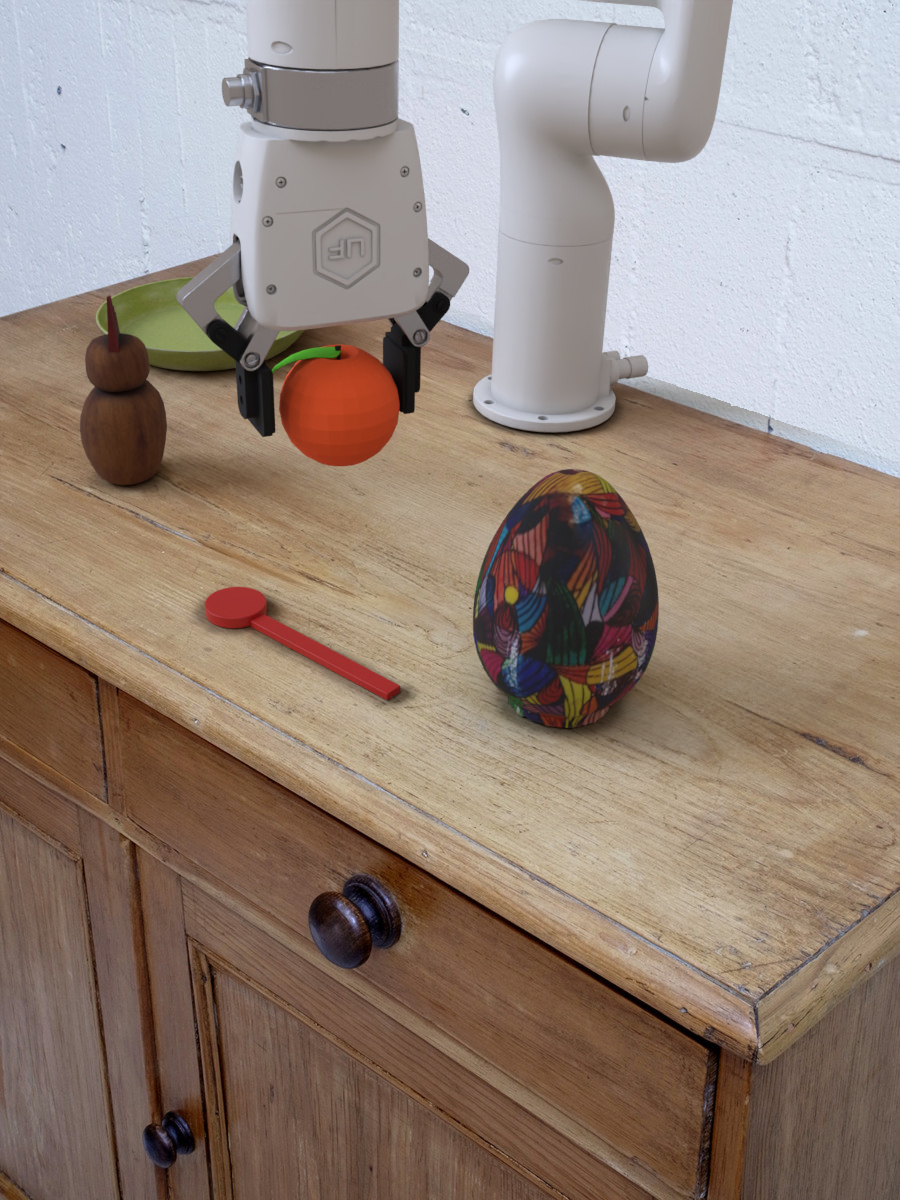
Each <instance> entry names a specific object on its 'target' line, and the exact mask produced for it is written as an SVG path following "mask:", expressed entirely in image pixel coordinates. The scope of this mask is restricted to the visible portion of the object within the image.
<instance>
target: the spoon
mask: <svg viewBox="0 0 900 1200" xmlns="http://www.w3.org/2000/svg"><path fill="white" fill-rule="evenodd" d="M267 613H268V603H267V598H266V596H265V595H264V593H262V592H261V591H259V590H258V589H255V588H252V587H248V586H230V587H225V588H221V589H218V590H216V591H214V592H212V593H211V594H209V595H208V596H207V598H206V600H205V602H204V614H205V617H206V619H207V620H208V621H209V622H210V623H211V624H213V625H215V626H217V627H220V628H223V629H224V628H225V629H243V628H246V627H250V628H251V629H254V630H256V631H257V632H259V633H261V634H263V635H264V636H266V637H268V638H270V639H272V640H274V641H276V642H277V643H280V644H281V645H283V646H285V647H287V648H289V649H291V650H293V651H294V652H296V653H298V654H300V655H301V656H304V657H306V658H307V659H309V660H311V661H313V662H315V663H316V664H319V665H320V666H323V667H324V668H326V669H327V670H330V671H332V672H333V673H335V674H337V675H339V676H340V677H342V678H345V679H347V680H348V681H350V682H352V683H354V684H356V685H358V686H360V687H362V688H363V689H365V690H367V691H369V692H371V693H373V694H375V695H377V696H378V697H380V698H382V699H383V700H386V701H389V700H390V699H392V698H394V697H396V696H397V695H398V694H400V693H401V685H400V684H398V683H396V682H394V681H392V680H391V679H388V678H386V677H385V676H383V675H381V674H379V673H377V672H375V671H373V670H371V669H369V667H368V668H367V667H366V666H365V665H362V664H360V663H358V662H357V661H354V660H352V659H350V658H348V657H346V656H345V655H343V654H341V653H339V652H337V651H336V650H333V649H332V648H330V647H328V646H326V645H324V644H322V643H321V642H319V641H316V640H314V639H313V638H311V637H309V636H307V635H305V634H303V633H301V632H299V631H297V630H296V629H293V628H291V627H290V626H288V625H286V624H284V623H282V622H281V621H278V620H276V619H274V618H273V617H271V616H269V615H267Z"/></svg>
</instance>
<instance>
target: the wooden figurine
mask: <svg viewBox="0 0 900 1200" xmlns="http://www.w3.org/2000/svg"><path fill="white" fill-rule="evenodd" d="M111 297H112V296H111V295H107V296H106V301H107V320H108V334H101V335H99V336H97V337H95V338H92V339H91V341H90V342H89V344H88V345H87V347H86V351H85V355H84V357H85V358H84V363H85V372H86V373H85V374H86V377H87V379H88V381H89V383H90V384H91V385H93V388H91V390H90V391H89V393H88V395H87V396H86V398H85V400H84V402H83V406H82V410H81V413H80V417H79V420H80V421H79V433H80V441H81V445H82V448H83V450H84V454H85V456H86V457H87V459H88V461H89V463H90V465H91V466H92V468H93V470H94V471H95V473H96V474H97V475H98V476H99V477H100V478H101V479H102V480H103V481H106V482H108V483H111V484H113V485H119V486H133V485H137V484H140V483H143V482H145V481H147V480H149V479H150V478H152V477H153V476H155V474H156V473H157V472H158V471H159V468H160V467H161V464H162V461H163V458H164V455H165V454H164V453H165V449H166V448H165V447H166V441H167V432H168V421H167V420H168V419H167V413H166V407H165V403H164V400H163V397H162V396H161V393H160V391H158V389H157V388H156V387H155V386H154V385H153V384H152V383H151V382H150V381H149V380H148V377H149V374H150V370H151V369H150V365H149V359H148V353H147V350H146V347H145V344H144V343H143V342H142V341H141V340H140V339H139V338H138V337H136V336H133V335H130V334H123V333H120V331H119V326H118V321H117V316H116V312H115V310H114V306H113V304H112V299H111Z"/></svg>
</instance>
